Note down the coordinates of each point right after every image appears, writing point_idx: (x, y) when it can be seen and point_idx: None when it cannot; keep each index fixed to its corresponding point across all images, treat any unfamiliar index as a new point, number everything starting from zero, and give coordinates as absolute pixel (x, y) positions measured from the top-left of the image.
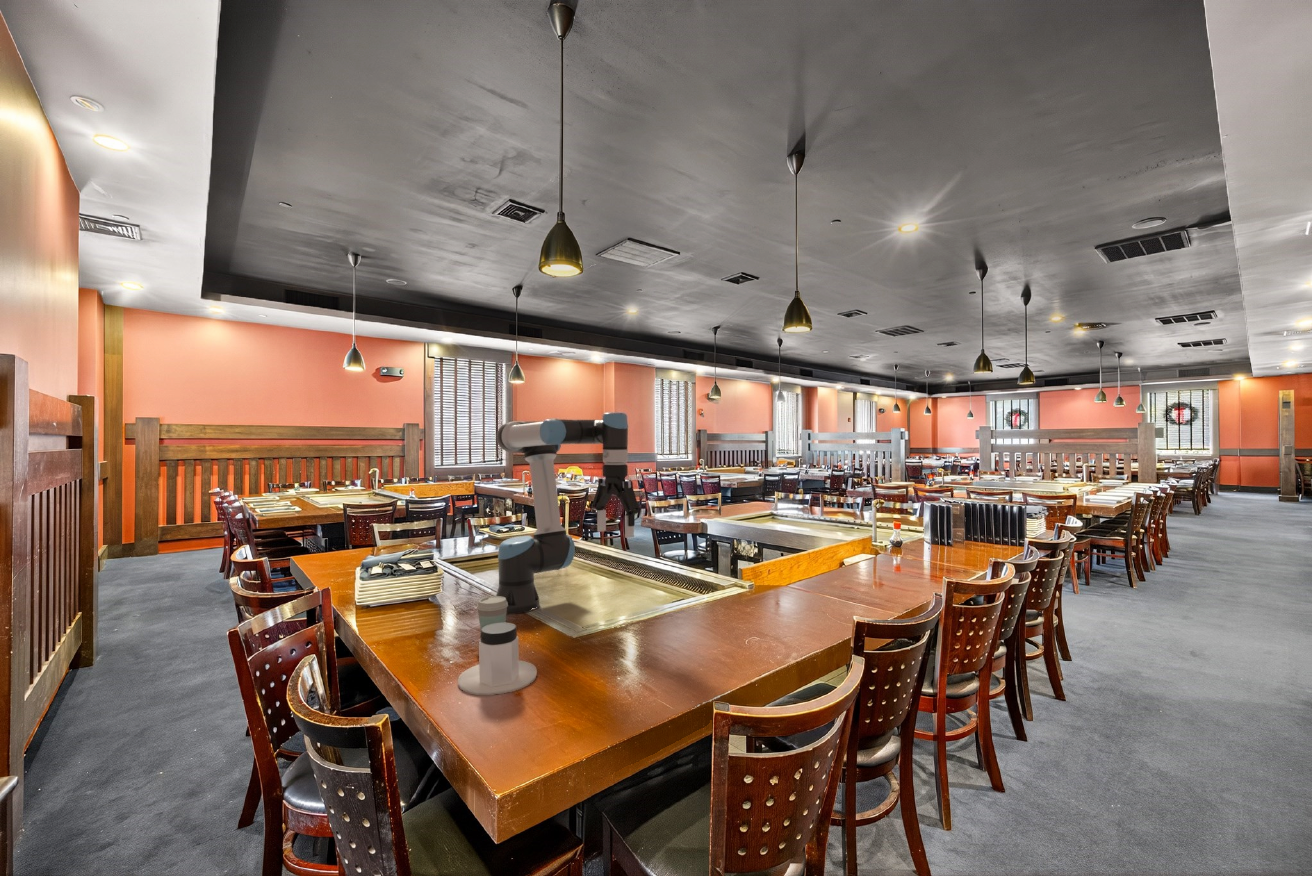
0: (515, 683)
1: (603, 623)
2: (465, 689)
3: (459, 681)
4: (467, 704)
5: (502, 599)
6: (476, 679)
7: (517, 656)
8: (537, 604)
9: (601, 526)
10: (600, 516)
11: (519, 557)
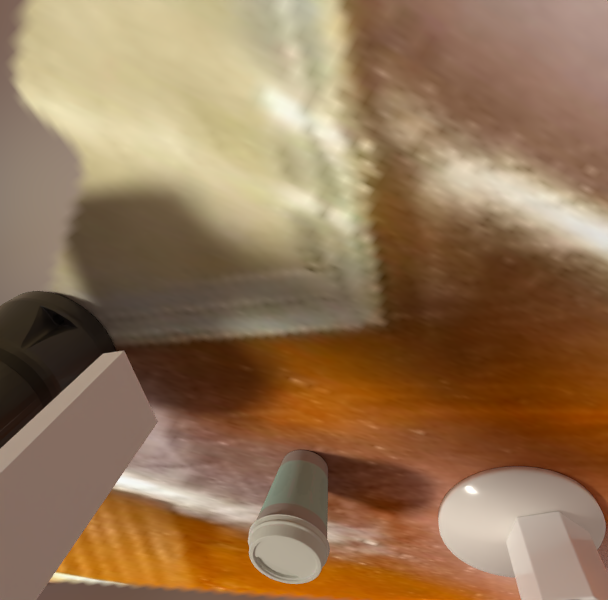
0: (591, 525)
1: (310, 199)
2: None
3: (500, 574)
4: None
5: (290, 542)
6: None
7: (582, 555)
8: (77, 313)
9: (120, 431)
10: (45, 545)
11: None
